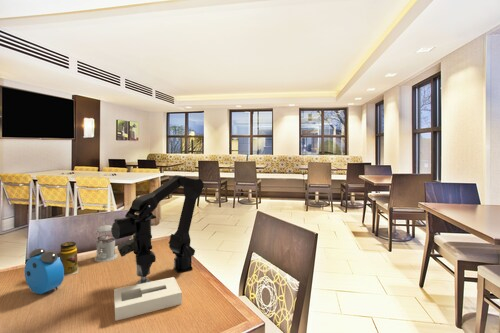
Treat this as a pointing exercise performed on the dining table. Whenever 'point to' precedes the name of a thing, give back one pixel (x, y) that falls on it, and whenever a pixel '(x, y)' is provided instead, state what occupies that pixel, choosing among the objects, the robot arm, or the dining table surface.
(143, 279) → the keyhole peg
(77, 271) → the condiment
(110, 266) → the dining table surface
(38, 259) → the alarm clock
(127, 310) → the keyhole board
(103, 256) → the french press
